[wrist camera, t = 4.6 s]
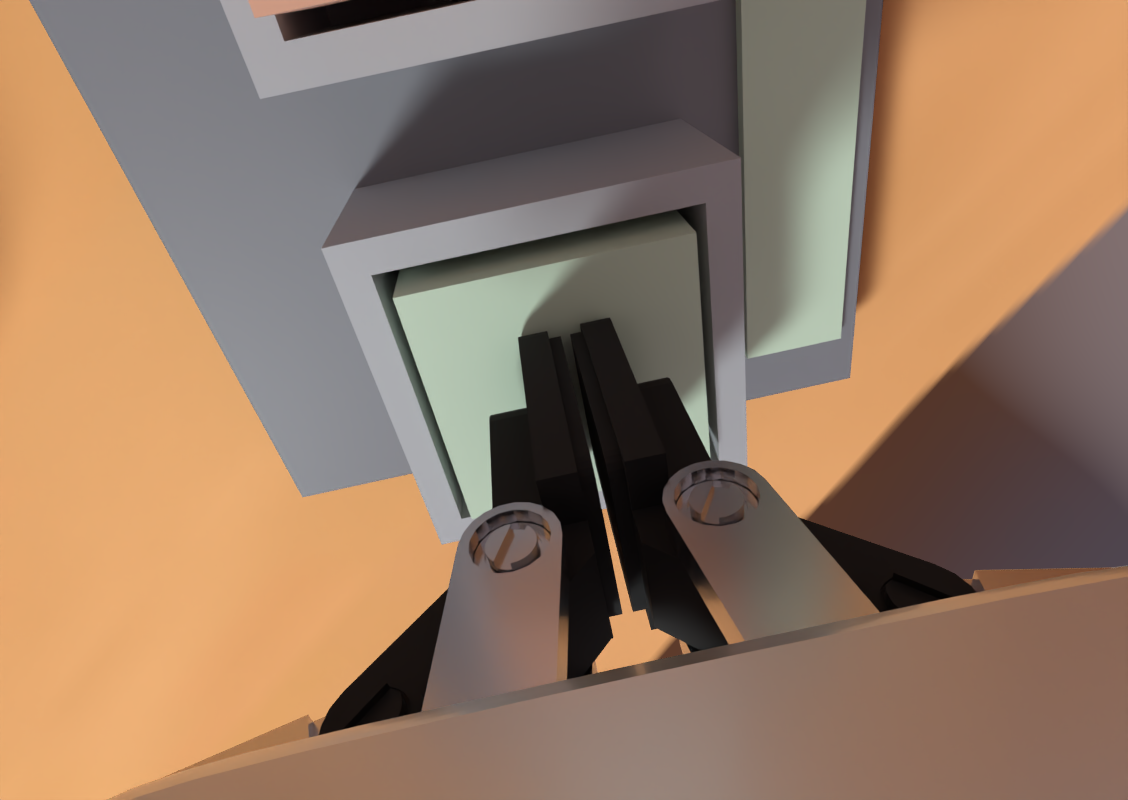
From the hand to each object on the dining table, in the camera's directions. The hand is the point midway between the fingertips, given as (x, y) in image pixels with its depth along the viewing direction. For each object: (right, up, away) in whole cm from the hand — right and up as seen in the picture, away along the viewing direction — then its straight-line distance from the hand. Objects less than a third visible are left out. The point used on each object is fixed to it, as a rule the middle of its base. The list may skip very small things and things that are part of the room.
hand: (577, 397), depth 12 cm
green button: (-1, +2, +2) cm, 3 cm away
